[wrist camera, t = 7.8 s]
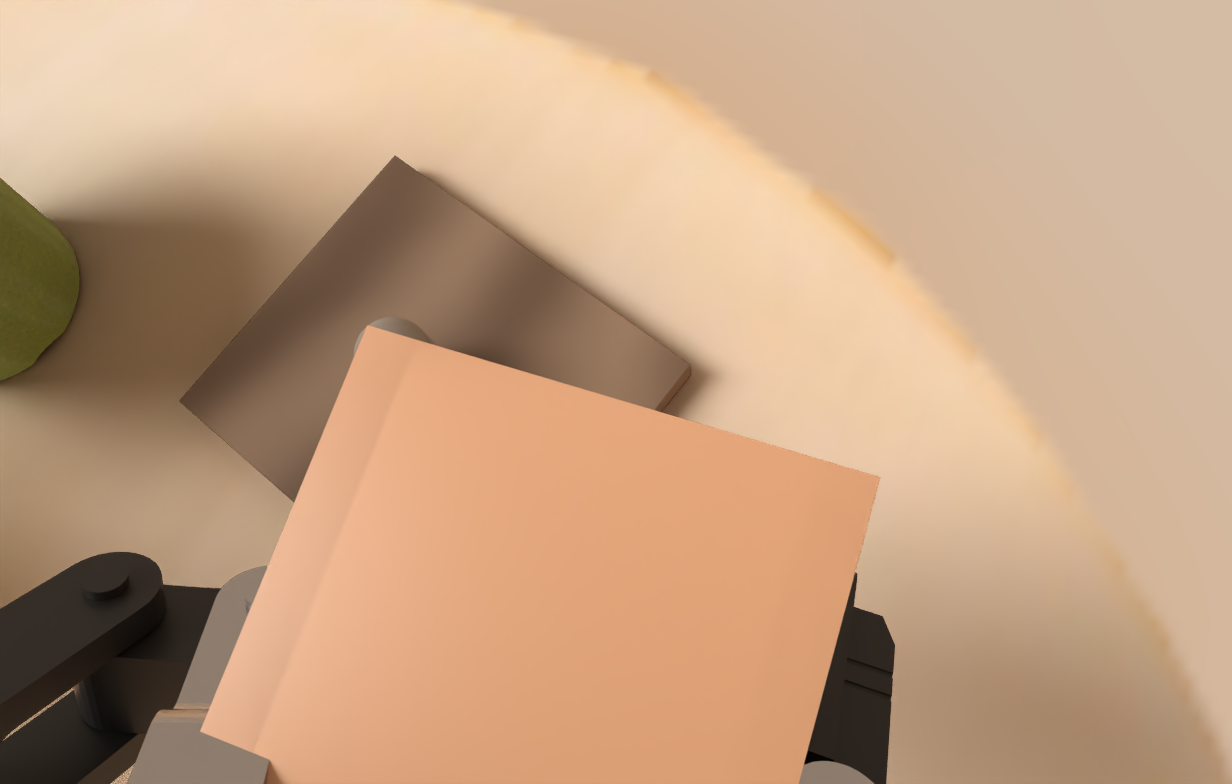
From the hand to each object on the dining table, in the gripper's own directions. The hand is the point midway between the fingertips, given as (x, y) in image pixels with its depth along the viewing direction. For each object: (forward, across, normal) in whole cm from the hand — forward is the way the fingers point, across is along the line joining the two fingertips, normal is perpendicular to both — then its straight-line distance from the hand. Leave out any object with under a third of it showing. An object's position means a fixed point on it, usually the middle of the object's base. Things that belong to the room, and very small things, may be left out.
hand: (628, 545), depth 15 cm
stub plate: (+14, +10, +8) cm, 20 cm away
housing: (+2, 0, +4) cm, 5 cm away
